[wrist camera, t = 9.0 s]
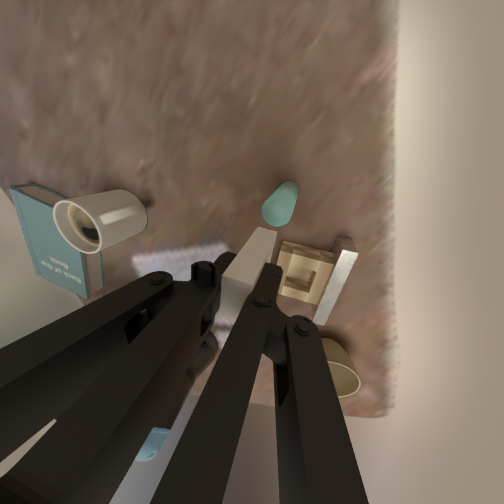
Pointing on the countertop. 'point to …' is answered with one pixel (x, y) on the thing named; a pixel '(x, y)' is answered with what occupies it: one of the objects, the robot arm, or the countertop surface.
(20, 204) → the book
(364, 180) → the countertop surface
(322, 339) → the flower pot
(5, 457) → the robot arm
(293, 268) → the block
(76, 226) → the mug
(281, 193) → the dowel
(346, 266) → the backstop rail
